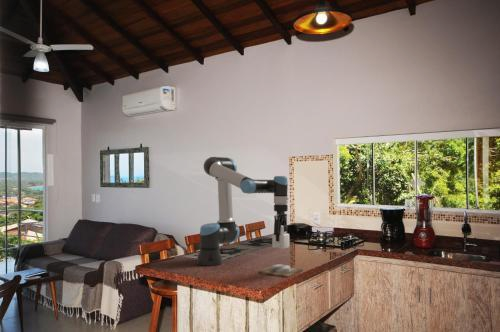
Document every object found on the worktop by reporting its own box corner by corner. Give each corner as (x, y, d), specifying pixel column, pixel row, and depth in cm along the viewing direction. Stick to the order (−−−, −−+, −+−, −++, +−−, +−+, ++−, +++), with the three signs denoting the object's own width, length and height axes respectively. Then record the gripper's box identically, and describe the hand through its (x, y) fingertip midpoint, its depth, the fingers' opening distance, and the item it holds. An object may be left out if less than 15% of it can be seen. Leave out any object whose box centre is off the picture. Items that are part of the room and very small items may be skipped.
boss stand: (258, 273, 197) (258, 267, 197) (274, 266, 212) (274, 261, 213) (288, 277, 188) (288, 271, 188) (302, 270, 203) (302, 265, 203)
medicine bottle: (278, 245, 205) (278, 224, 206) (289, 247, 202) (289, 225, 202) (272, 247, 199) (272, 225, 200) (283, 248, 196) (283, 226, 196)
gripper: (280, 205, 191) (280, 249, 190) (293, 203, 209) (293, 243, 208) (267, 204, 194) (267, 248, 193) (280, 203, 213) (280, 242, 211)
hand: (280, 246), depth 201 cm, fingers closed on medicine bottle, 8 cm apart
